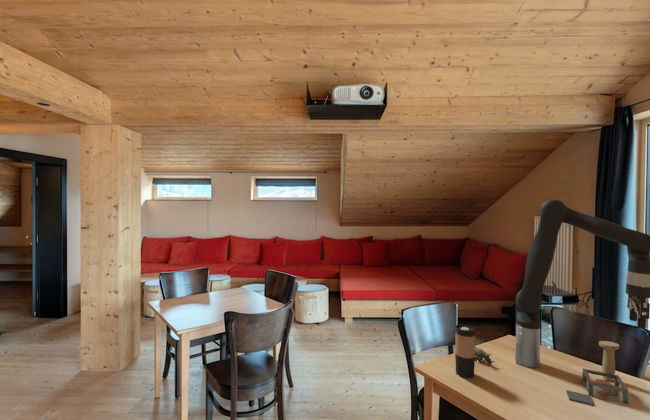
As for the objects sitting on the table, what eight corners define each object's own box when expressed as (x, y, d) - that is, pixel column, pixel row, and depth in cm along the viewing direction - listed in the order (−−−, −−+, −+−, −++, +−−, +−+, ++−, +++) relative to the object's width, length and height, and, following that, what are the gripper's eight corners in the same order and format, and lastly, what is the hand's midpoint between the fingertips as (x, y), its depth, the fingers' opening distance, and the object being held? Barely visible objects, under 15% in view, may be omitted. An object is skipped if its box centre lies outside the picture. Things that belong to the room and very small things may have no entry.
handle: (621, 383, 126) (622, 346, 126) (604, 382, 127) (604, 345, 127) (612, 377, 131) (613, 341, 131) (595, 375, 132) (596, 340, 132)
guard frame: (589, 395, 118) (589, 381, 118) (582, 381, 128) (582, 368, 128) (628, 404, 113) (628, 390, 113) (618, 388, 123) (618, 375, 122)
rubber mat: (569, 400, 116) (569, 398, 116) (566, 391, 121) (566, 390, 121) (593, 405, 112) (593, 404, 112) (589, 396, 117) (589, 395, 117)
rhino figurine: (490, 369, 137) (490, 355, 137) (463, 356, 150) (463, 343, 150) (496, 367, 139) (496, 353, 139) (469, 354, 152) (469, 341, 151)
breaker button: (597, 388, 119) (597, 384, 119) (593, 381, 124) (593, 378, 124) (614, 391, 117) (614, 388, 117) (610, 385, 121) (610, 381, 121)
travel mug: (466, 380, 128) (466, 332, 128) (451, 372, 135) (451, 326, 135) (478, 376, 132) (479, 329, 132) (463, 367, 139) (463, 323, 138)
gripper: (620, 278, 132) (618, 316, 132) (633, 286, 120) (630, 328, 120) (645, 281, 128) (642, 320, 129) (660, 289, 116) (658, 332, 116)
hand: (637, 324), depth 124 cm, fingers open, 8 cm apart
